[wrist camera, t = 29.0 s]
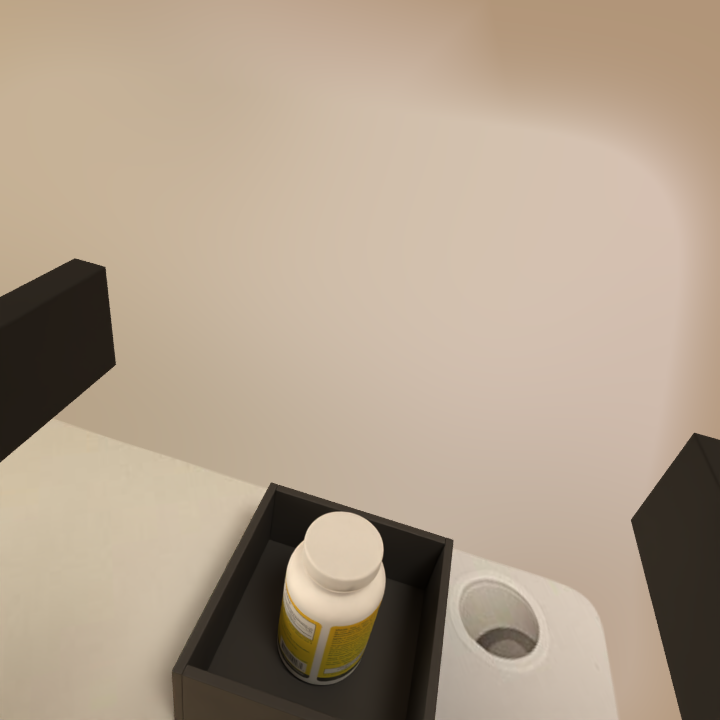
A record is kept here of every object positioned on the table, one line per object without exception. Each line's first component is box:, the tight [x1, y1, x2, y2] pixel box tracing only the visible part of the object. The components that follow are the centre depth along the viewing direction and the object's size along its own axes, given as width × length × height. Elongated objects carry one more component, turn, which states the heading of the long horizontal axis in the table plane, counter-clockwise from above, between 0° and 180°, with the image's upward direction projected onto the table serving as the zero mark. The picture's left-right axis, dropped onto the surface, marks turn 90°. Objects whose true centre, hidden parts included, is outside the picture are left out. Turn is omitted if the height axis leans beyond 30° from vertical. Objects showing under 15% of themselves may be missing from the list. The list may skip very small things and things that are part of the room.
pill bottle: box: [277, 512, 386, 685], centre depth 33 cm, size 6×6×11 cm
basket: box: [172, 483, 453, 720], centre depth 35 cm, size 14×14×6 cm
